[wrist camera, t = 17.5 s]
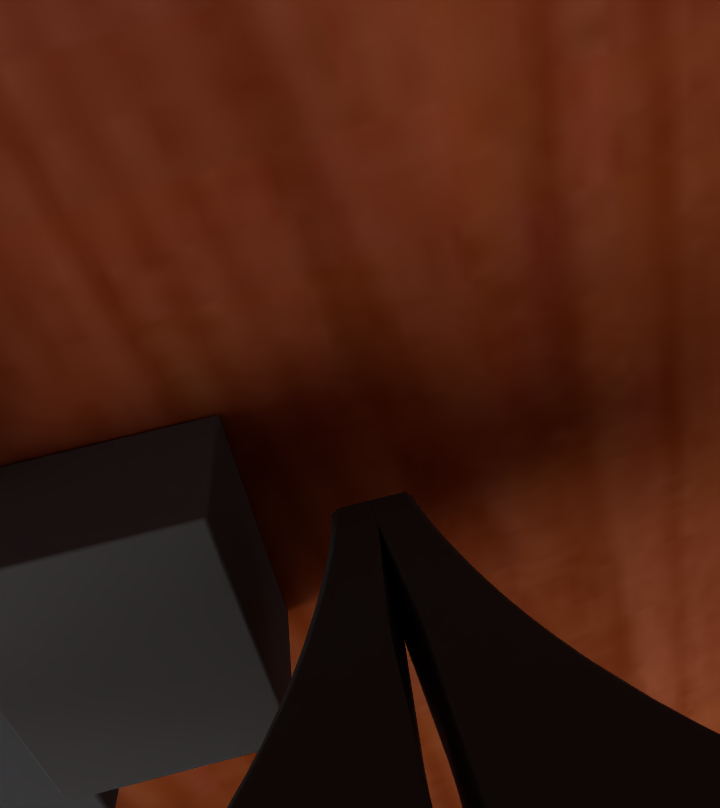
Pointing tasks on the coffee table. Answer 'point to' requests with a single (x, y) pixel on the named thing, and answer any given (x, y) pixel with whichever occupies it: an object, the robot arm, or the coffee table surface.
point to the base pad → (35, 779)
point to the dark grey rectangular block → (137, 610)
